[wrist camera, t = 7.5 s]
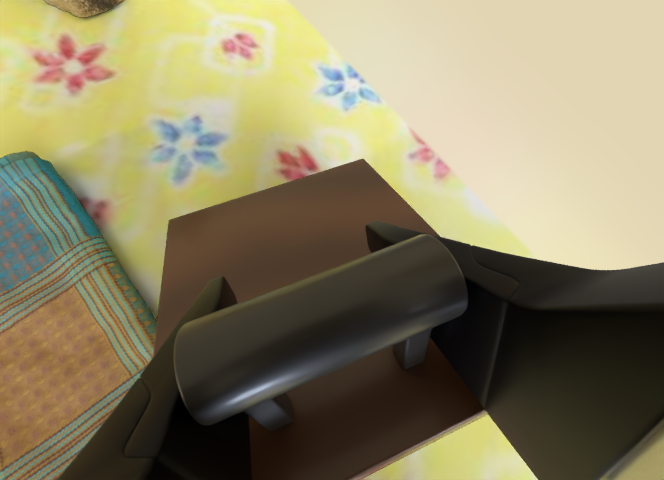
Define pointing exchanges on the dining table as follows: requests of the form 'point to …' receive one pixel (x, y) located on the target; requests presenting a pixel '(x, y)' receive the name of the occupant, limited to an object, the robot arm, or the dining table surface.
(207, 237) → the lid
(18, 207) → the dish towel
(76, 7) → the rock
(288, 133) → the dining table surface
